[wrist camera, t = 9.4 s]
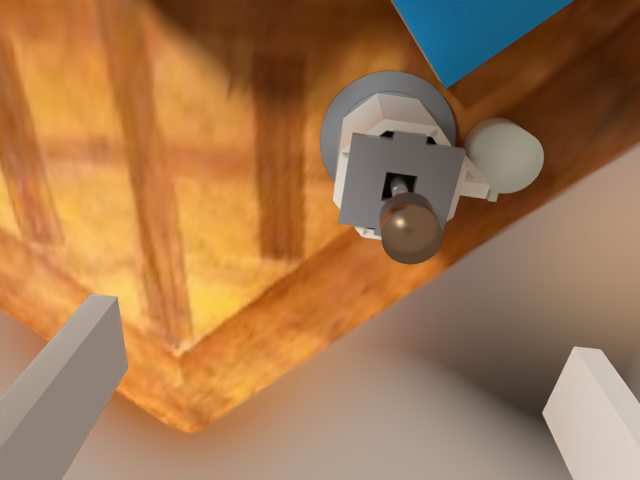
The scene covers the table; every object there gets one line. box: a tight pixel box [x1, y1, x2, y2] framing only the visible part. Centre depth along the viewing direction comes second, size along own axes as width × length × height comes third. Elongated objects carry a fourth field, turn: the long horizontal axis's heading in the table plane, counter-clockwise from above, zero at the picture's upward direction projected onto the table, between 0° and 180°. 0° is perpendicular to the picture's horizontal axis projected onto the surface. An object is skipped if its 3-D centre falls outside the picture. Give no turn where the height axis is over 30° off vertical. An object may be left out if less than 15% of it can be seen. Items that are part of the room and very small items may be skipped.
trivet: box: [320, 71, 456, 182], centre depth 47 cm, size 14×14×1 cm
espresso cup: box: [463, 117, 544, 202], centre depth 45 cm, size 7×6×6 cm
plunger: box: [379, 172, 443, 264], centre depth 34 cm, size 4×4×16 cm
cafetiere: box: [333, 91, 490, 240], centre depth 41 cm, size 10×13×14 cm
